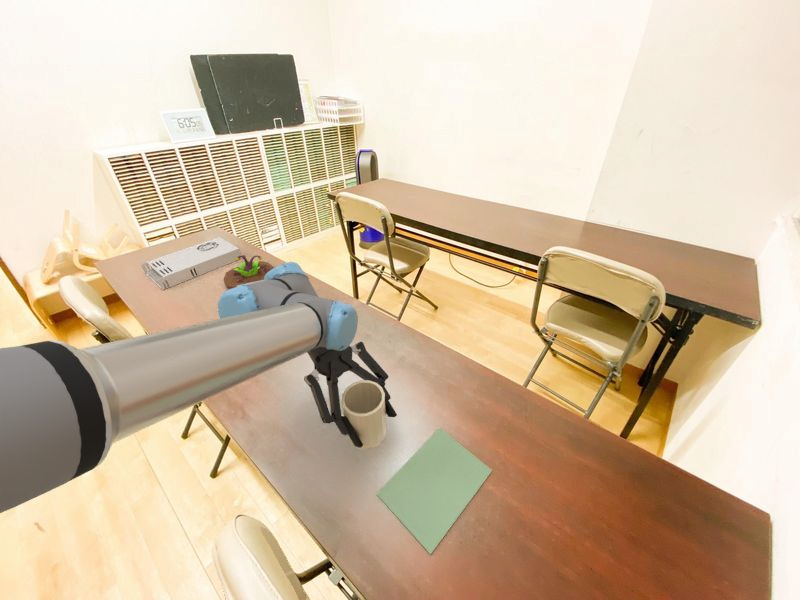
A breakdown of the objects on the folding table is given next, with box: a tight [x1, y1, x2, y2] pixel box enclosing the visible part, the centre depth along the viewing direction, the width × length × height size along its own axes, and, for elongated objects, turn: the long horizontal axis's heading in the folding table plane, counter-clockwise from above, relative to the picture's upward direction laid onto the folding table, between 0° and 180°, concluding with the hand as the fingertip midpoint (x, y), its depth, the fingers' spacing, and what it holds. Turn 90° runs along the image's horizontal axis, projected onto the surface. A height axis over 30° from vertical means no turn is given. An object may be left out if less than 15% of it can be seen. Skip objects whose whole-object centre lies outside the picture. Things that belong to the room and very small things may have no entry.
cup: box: [340, 379, 388, 450], centre depth 66 cm, size 8×8×12 cm
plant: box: [223, 254, 275, 290], centre depth 127 cm, size 20×20×11 cm
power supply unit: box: [140, 236, 243, 291], centre depth 138 cm, size 19×33×5 cm, turn 140°
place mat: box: [376, 427, 493, 556], centre depth 66 cm, size 20×14×1 cm
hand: (376, 430), depth 65 cm, fingers closed on cup, 8 cm apart
